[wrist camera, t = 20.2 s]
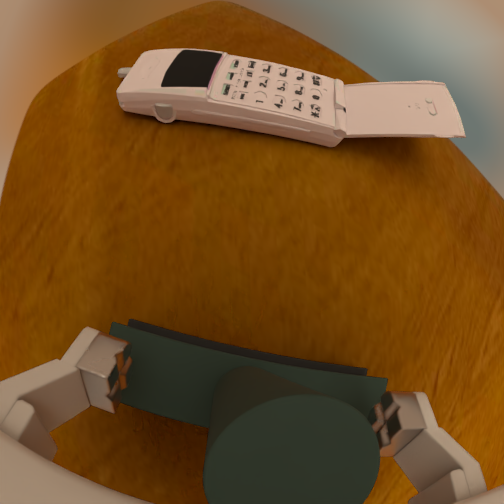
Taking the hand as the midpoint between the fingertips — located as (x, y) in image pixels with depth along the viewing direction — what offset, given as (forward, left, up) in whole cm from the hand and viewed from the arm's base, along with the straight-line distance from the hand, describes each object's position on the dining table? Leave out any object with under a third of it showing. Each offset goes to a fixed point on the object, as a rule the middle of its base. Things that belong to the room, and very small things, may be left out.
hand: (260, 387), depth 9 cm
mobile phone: (-2, +17, -7) cm, 19 cm away
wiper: (0, -1, -7) cm, 7 cm away
